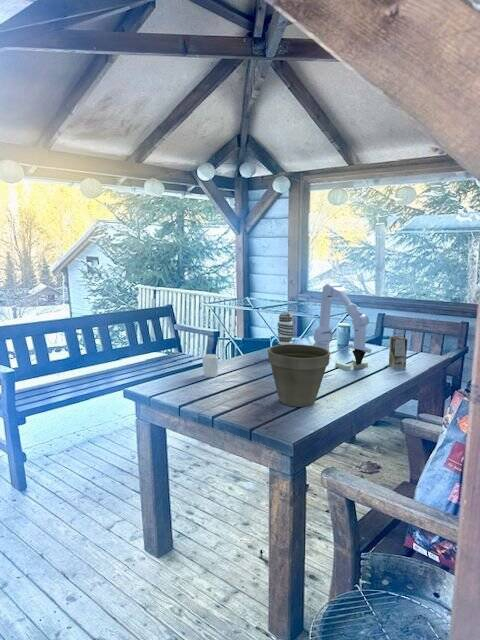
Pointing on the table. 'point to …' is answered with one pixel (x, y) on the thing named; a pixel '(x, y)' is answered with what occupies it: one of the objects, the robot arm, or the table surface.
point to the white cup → (210, 365)
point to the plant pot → (298, 372)
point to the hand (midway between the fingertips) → (358, 363)
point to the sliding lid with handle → (358, 366)
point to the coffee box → (398, 352)
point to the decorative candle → (285, 329)
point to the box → (348, 365)
